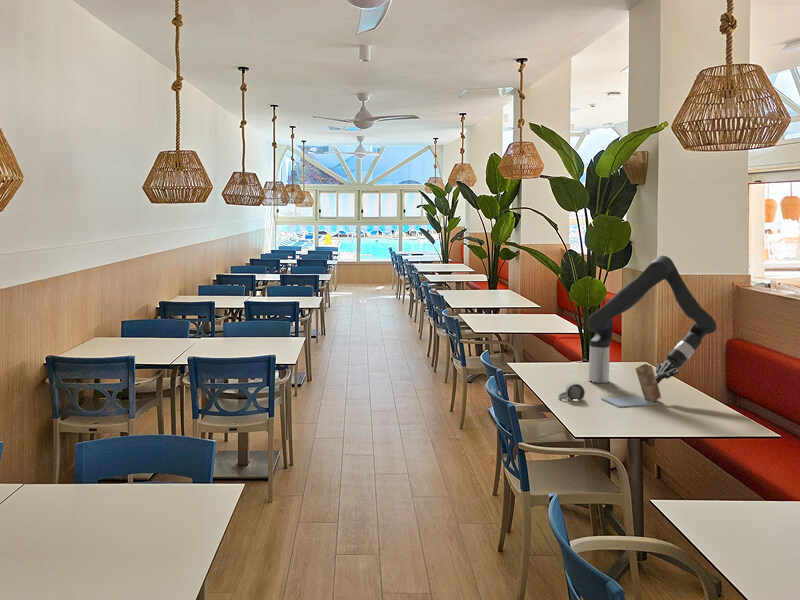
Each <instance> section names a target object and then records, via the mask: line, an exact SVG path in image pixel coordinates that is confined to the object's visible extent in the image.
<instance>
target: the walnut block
mask: <svg viewBox="0 0 800 600" xmlns="http://www.w3.org/2000/svg"><path fill="white" fill-rule="evenodd" d="M635 371H636V374H637V378H638V382H639V385H640V387H641V391H642V395H643V398H644V399H647V400H649V401H652V402H654V403H655V401H658V400H660V399H662V394H661V391H660V387H659V383H658V384H657V381H656V378H655V377H656V374H655V372H654V368H653V365H651V364H646V363H644V364H642V365H640V366H638V367H636V368H635Z"/></svg>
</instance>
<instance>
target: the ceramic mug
mask: <svg viewBox="0 0 800 600" xmlns="http://www.w3.org/2000/svg"><path fill="white" fill-rule="evenodd" d="M585 395H586V390H585V388H584V387H583V386H582V384H580V383H579V382H576V381H572V382H570V383H568V384H567V385H566V387H565V391H563V392H560V394H559V395H558V399H559V400H564V399H569V401H570V402H573V399H578V402H580V401H582V400H583V399H584V397H585Z"/></svg>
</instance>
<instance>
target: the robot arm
mask: <svg viewBox="0 0 800 600" xmlns="http://www.w3.org/2000/svg"><path fill="white" fill-rule="evenodd" d="M664 280H665V282H667V283H668V285H669V287H670V288H671V290H672V293H673V296H674V298H675V301H676V303H677V305H678V306H679V307H680V309H681V310H682V312H683V313H684V314H685V315H686V316H687V317H688V318H689V319H692V320H693V321H694V323H693V324H692V326H691V327H690V328H689V330H688V332H687V333H686V335H684V336H683V338H682V339H681V340H680V341H679V342H678V343H676V345H675V346H674V347H673V348H672V349H671V350H670V351H669V353H668V354H667V355H666V360H664V361H663V362H662V363H660V362H658V363H657V364H656V368H655V373H656V375H655V378H656V381H657V384H658V385H659V384H660V383H661V382H662V381H663V380H665V379H666V380H667V379H669V378H672V377H674V376H676V375H678V374H679V372H680V371H679V370H678V369H679V368H681V367H683V366H684V364H685V363H686V362H687V361H688V360H689V359H690V358H691V357H692V355H693V353H694V352H695V351H696V350H698V348H699V347H700V345H701V344H702V340H703V338H705V336H706V335H710V334H713V333H714V332H716V330H717V322H716V321H715V319H714V317H712V316H711V314H709V313H708V312H707V311H706V310H705V309H704V308H702V306H701V305H700V303H699V302H698V300H696V297H694V296H693V294H692V292H691V291H690V290H689V288H688V286H687V285H686V284H685V282H684V280H683V279H682V276H681V275H680V273H679V271H678V269H677V267H676V265H675V263H674V262H673V260H672V259H671V257H669V256H667V255H659V256H657V257H656V258H655V259H653V260H652V261H651V262H650V263H649V265H648V266H647V267H646V268H645V270H643V271H642V272H641V273H640V274H639V276H638V277H636V278H635V279H633V280H632V281H630V282H629V283H627V284H626V285H624V286H623V287H622V288H620V290H619V291H618V292H617V293H616V294H614V295H613V296H612V297H611V298H610V299H609V300H608V301H607V302H606V303H605V304H604V305H603V306H601V307H600V308H599V309H597V310H596V311H594V312H593V313H591V314H590V315H589V316H588V318H587V320H586V328H587V329H588V331H590V332H591V333H595V335H594V336H593V337H592V338H591V339H590V340H589V359H588V379H587V380H588V382H590V381H592V382H591V383H594V382H596V384H606V383H608V382H609V380H610V346H611V342H612V339H613V329H614V321H613V318H615V317H616V316H618V315H621V314H623V313H625V312H627V311H628V310H630V309H632V308H633V307H634V306H635V305H636V304H637V303H639V302H640V301H641V300H642V299H643V298H644V296H645V295H646V294H647V293H648V292H649V290H650V289H652V288H653V287H654V286H657V285H658V284H660V283H661V282H662V281H664Z"/></svg>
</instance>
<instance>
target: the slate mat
mask: <svg viewBox="0 0 800 600" xmlns="http://www.w3.org/2000/svg"><path fill="white" fill-rule="evenodd" d="M600 398H601V399H602V401H603V400H604V401H603V402H605V401H606V402H605V403H608V404H610V405H613V406H614V407H617V408H618V409H619V408H621V409H622V408H635V407H648V406H649V407H651V406H658V403H656V402H655V401H654V402H652V401H649V400H647V399H645V398H644V397H642V396H640V395H632V396H614V397H600ZM601 399H600V400H601Z"/></svg>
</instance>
